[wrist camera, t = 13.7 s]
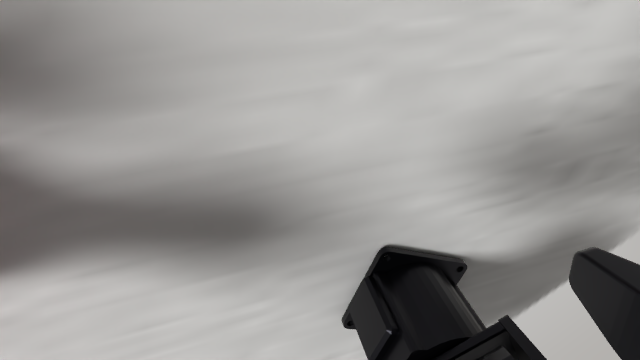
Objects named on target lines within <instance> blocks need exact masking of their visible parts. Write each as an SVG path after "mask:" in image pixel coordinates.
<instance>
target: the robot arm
mask: <svg viewBox="0 0 640 360" xmlns="http://www.w3.org/2000/svg"><path fill="white" fill-rule="evenodd" d="M386 255H387V256H386ZM384 256H386V257H384ZM466 269H467V265H466V264H465V262H464V261H463V260H461V259H456V258H450V257H444V256H438V255H432V254H426V253H420V252H414V251H408V250H402V249H396V248H390V247H385V248H382V249H381V250H379V252H378V253H377V255H376V257H375V258H374V260H373V262H372V264H371V266H370V268H369V270H368V271H367V273H366V275H365V277H364V279H363V280H362V282H361V284H360V286H359V287H358V289H357V291H356V293H355V295H354V297H353V298H352V300H351V302H350V304H349V306H348V308H347V310H346V312H345V314H344V316H343V317H342V323H343V326H344V327H345V328H347V329H356V330H357V332H358V335H359V337H360V340H361V343H362V345H363V348H364V350H365V353H366V356H367V358H368V360H547V359H546V358H545V357H544V356H543V355H542V354H541V352H540V351H539V350H538V349H537V348H536V347H535V346H534V345H533V343H532V342H531V341H530V340H529V339H528V338H527V337H526V335H525V334H524V333H523V332H522V331H521V330H520V329H519V327H517V325H516V324H515V323H514V322H513V321H512V319H511V318H510V317H509V316H508V315H506V316H504V317H503V318H501V319H499V320H498V321H499V322H497V323H496V324H494V325H492V326H490V327H488V328H487V329H486V327H485V326H484V324H483V323H482V321H481V320H480V318H479V317H478V316H477V314H476V313H475V311H474V310H473V308H472V307H471V305H470V304H469V303H468V301H467V300H466V298H465V297H464V295H463V294H462V293H461V291H460V290H459V288H458V287H457V283H458V282H459V280H460V279H461V277H462V276H463V274H464V273H465V271H466ZM569 282H570V285H571V287H572V289H573V291H574V292H575V294H576V295H577V297H578V298H579V300H580V301H581V303H582V304H583V306H584V307H585V309H586V310H587V311H588V313H589V314H590V316H591V317H592V319H593V320H594V322H595V323H596V325H597V326H598V327H599V329H600V331H601V332H602V333H603V334H604V336H605V338H606V339H607V341H608V342H609V344H610V345H611V346H612V347H613V349H614V350H615V352H616V353H617V354H618V356H619V357H620V358H621V359H622V360H640V265H639V264H636V263H634V262H631V261H629V260H626V259H624V258H621V257H619V256H616V255H614V254H611V253H609V252H606V251H604V250H601V249H599V248H594V247H592V248H588V249H585V250H582V251H578V252H576V253H575V254H574V257H573V261H572V266H571V270H570V275H569Z"/></svg>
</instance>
